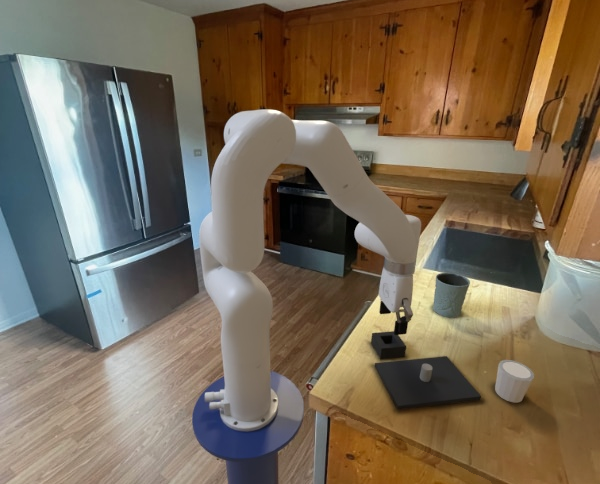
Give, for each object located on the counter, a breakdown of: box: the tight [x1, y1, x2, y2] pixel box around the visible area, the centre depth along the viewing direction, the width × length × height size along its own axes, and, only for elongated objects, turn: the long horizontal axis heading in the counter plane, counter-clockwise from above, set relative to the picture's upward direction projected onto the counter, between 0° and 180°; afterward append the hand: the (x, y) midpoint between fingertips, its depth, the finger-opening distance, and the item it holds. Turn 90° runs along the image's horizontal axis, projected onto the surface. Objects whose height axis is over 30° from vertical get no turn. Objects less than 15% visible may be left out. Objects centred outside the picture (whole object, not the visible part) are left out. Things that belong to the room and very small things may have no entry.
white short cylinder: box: [494, 359, 535, 404], centre depth 76 cm, size 7×7×7 cm
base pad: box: [374, 355, 482, 411], centre depth 79 cm, size 20×14×5 cm
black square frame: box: [370, 330, 407, 360], centre depth 90 cm, size 7×7×4 cm
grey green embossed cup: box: [432, 272, 471, 318], centre depth 108 cm, size 10×10×12 cm
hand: (392, 323), depth 88 cm, fingers open, 9 cm apart
